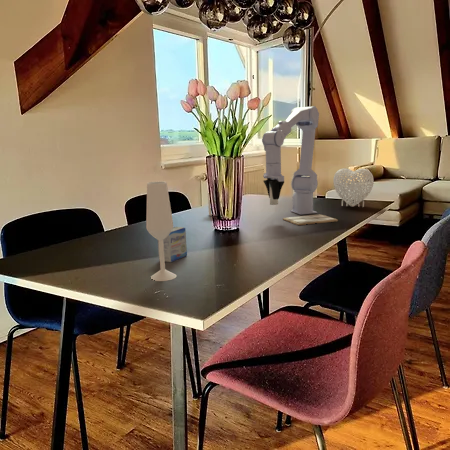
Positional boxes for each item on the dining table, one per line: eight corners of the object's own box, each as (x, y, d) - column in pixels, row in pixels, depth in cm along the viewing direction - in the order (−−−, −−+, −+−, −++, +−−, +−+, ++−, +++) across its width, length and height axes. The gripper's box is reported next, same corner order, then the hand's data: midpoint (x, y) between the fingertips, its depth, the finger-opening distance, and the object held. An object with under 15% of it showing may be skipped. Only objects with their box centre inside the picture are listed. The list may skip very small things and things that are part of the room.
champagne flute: (144, 278, 114) (137, 183, 109) (161, 271, 119) (155, 180, 114) (165, 282, 110) (158, 184, 105) (181, 274, 116) (176, 181, 111)
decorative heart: (376, 205, 203) (377, 167, 200) (368, 209, 195) (369, 170, 191) (338, 203, 214) (338, 167, 210) (329, 207, 205) (329, 169, 202)
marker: (268, 204, 176) (267, 183, 174) (276, 203, 177) (275, 182, 175) (271, 205, 173) (271, 184, 171) (279, 204, 174) (279, 183, 172)
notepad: (282, 219, 181) (282, 217, 181) (320, 215, 186) (320, 213, 186) (298, 225, 169) (298, 223, 169) (337, 221, 174) (337, 218, 174)
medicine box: (170, 262, 127) (168, 232, 125) (158, 261, 129) (156, 231, 128) (187, 255, 134) (185, 227, 132) (175, 254, 136) (173, 226, 134)
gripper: (256, 162, 177) (257, 197, 180) (271, 164, 164) (272, 201, 167) (272, 161, 179) (273, 195, 182) (289, 163, 166) (289, 200, 169)
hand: (274, 198), depth 175 cm, fingers closed on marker, 3 cm apart
